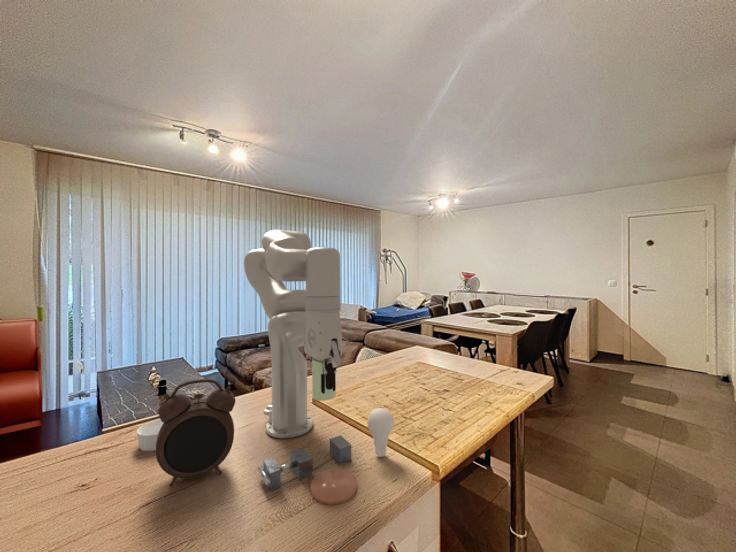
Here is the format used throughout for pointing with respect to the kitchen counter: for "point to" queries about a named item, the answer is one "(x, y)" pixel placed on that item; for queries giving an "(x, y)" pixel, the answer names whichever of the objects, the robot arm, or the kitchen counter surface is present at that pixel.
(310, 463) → the vise
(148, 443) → the ramekin
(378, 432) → the lightbulb
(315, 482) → the coaster
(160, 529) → the kitchen counter surface
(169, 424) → the alarm clock
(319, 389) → the candle
